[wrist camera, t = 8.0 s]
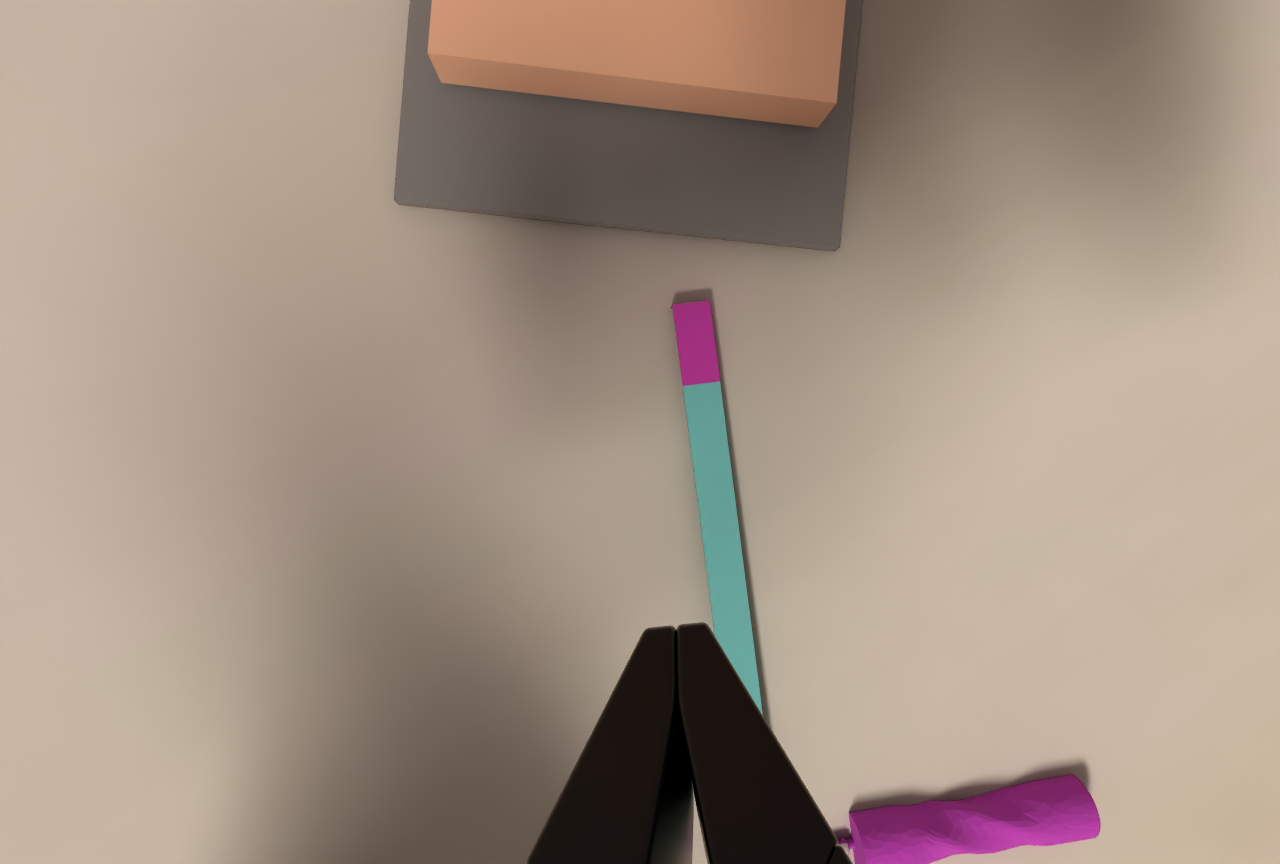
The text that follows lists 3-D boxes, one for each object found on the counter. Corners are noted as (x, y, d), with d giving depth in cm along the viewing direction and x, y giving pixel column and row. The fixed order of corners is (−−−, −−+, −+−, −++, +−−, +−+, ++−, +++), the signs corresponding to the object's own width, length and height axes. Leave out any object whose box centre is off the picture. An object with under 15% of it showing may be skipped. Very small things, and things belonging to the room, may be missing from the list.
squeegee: (1156, 1276, 19) (809, 1353, 18) (1109, 1205, 20) (791, 1274, 20) (1030, 260, 18) (673, 302, 18) (993, 274, 20) (666, 313, 19)
